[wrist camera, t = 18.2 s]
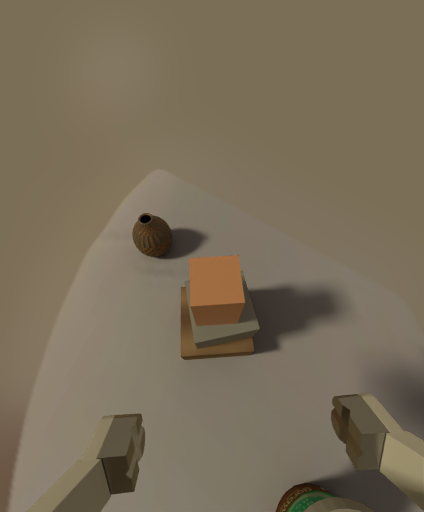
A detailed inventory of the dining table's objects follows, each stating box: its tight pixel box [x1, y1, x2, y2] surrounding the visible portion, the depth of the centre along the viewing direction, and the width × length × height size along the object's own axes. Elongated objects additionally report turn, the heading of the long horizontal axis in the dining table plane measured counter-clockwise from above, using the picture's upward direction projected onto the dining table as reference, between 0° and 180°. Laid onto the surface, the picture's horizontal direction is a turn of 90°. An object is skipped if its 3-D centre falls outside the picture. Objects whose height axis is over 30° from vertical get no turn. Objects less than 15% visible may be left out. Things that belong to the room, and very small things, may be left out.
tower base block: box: [181, 287, 254, 360], centre depth 35 cm, size 10×10×5 cm
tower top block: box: [185, 271, 260, 349], centre depth 31 cm, size 8×8×5 cm
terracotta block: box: [189, 255, 245, 326], centre depth 25 cm, size 5×5×8 cm
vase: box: [133, 213, 172, 257], centre depth 41 cm, size 7×7×9 cm
